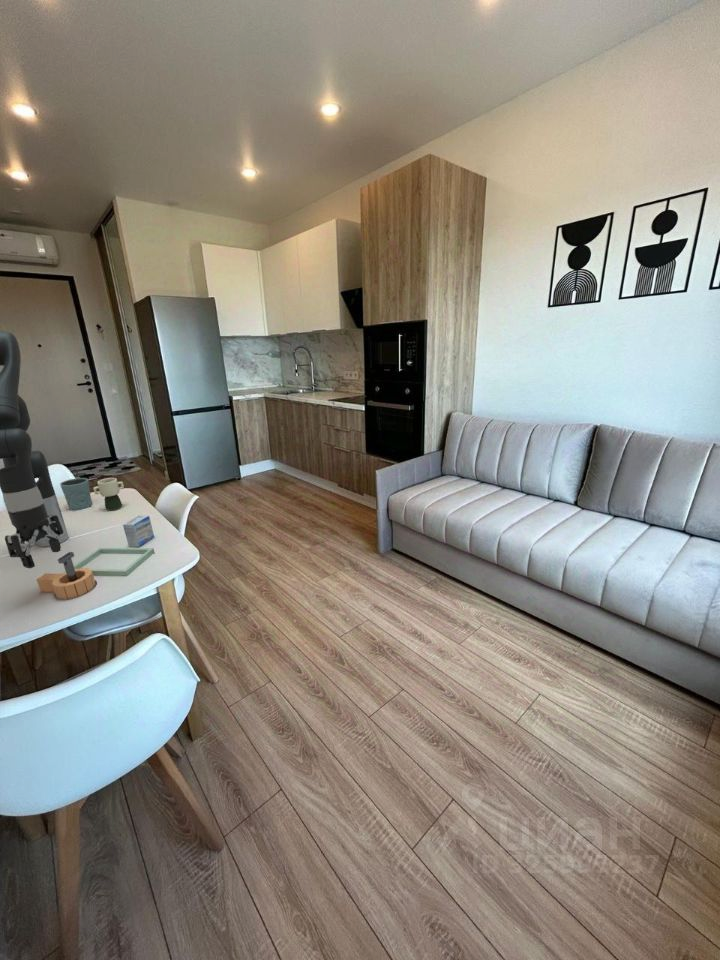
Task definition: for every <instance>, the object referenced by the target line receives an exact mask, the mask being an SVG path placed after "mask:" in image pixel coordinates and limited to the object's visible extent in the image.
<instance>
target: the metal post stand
mask: <svg viewBox="0 0 720 960" xmlns="http://www.w3.org/2000/svg"><path fill="white" fill-rule="evenodd" d="M74 557H75V553H74V552H73V551H69V552H67V553H65V554H64V555H63V556H61V557H59V558H58V559H57V561H58V564H63V567H64V571H65V572H66V574H67V577H68V580H69V582H74V581H76V580H78V578H77V575H76V572H75V569H74V562H73V559H72V558H74ZM94 580H95V579H94ZM97 585H98V582H97V580H95V586H94V587H93V588H92V589H91V590H90V591H88V592H87V593H85V594H82V595H80V596H78V597H74V598H70V599H60V598H58V597H57V596H56V594H55V593H54V599H56V600H58V601H70V600H73V599H78V598H80V597H83V596H84V595H87V594H88V593H90V592H91V591H93V590H94V589H95V588H96V587H97Z"/></svg>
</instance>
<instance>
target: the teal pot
mask: <svg viewBox="0 0 720 960" xmlns="http://www.w3.org/2000/svg"><path fill="white" fill-rule="evenodd" d="M59 485H60V488H61V490H62V493H63V494H64V498H65V500H66V503H67V507H68V510H70V511H72V512H73V511H81V510H85V509H88V508H89V507H92V506H93V500H92V496H91V492H90V490H91V489H90V483H89V479H88V477H87V478H86V477H75V478H71V479H67V480H64V481H61V482H60V483H59Z"/></svg>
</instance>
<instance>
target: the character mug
mask: <svg viewBox="0 0 720 960" xmlns="http://www.w3.org/2000/svg"><path fill="white" fill-rule="evenodd" d="M119 485H120V486H119ZM124 489H125V486H124V482H123V481H118V479H117V478H116V477H108V478H103V479H99V480H98V481H97V486H94V487H93V492H94V494H95V495H99V494H100V496H101V497H104V509H105V510H107V511H108V510H110V511H112V510H118V509H120V508H121V507H122V506H123V504H122V501H121V499H120V497H119V495H118V494H119V493H120V490H124ZM97 490H98V491H97Z"/></svg>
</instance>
